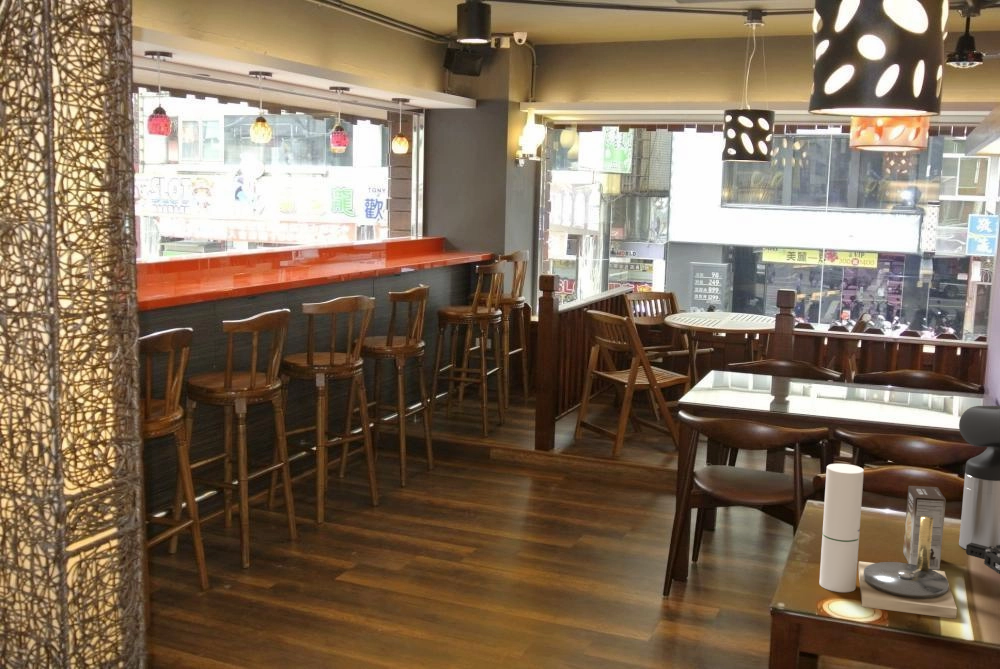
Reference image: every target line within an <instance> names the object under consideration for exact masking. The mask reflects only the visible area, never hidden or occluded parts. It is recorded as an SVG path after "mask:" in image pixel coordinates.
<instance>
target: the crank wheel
mask: <svg viewBox="0 0 1000 669" xmlns="http://www.w3.org/2000/svg"><path fill="white" fill-rule="evenodd" d="M932 528H933V518H932V517H930V516H921V519H920V532H919V545H918V557H917V565H913V564H909V563H908V562H906V563H905V562H900V561H898V562H897V561H882V562H873V563H874V564H871V565H868V566H867V567H866V568H865V569H864V575H863V577H864V580H865V581H866V582H867V583H868V584H869V585H870V586H872V587H874V588H876V589H878V590H880V591H883V592H886V593H889V594H893V595H897V596H902V597H909V598H934V597H939V596H942V595H944V594H946V593H947V591H948V583H949V580H948V578H947V579H946V578H945V577H944V576H943V575H941V574H940V573H938V572H936V571H933V570H934V569H929V566H930V553H931V541H932Z"/></svg>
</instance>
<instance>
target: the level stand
mask: <svg viewBox="0 0 1000 669" xmlns="http://www.w3.org/2000/svg"><path fill="white" fill-rule="evenodd" d="M874 563H875V562H868V561H860V560H859V561H858V566H857V571H858V572H857V573H858V579H859V580H858V581H859V589H860V599H861V600H860V601H861V607H862V608H869V609H878V610H886V611H894V612H901V613H907V614H914V615H915V614H917V615H925V616H932V617H933V616H934V617H940V618H949V619H957V612H958V608H957V605H956V603H955V599H954V596H953V593H952V590H951V587H950V584H949V582H948V591H947V593H946V594H944V595H942V596H939V597H934V598H909V597H902V596H897V595H893V594H889V593H886V592H883V591H880V590H878V589H876V588H874V587H872V586H870V585H869V584H868V583H867V582H866V581H865V580H864V577H863V575H864V569H865V568H866V567H867V566H868V565H871V564H874ZM932 570H933V571H936V572H938V573H940V574H941V575H943V576H944V577H945V578H946V579H947V580H948V578H947V575H946V571H943V570H935V569H932Z"/></svg>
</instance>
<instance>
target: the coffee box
mask: <svg viewBox="0 0 1000 669" xmlns="http://www.w3.org/2000/svg"><path fill="white" fill-rule="evenodd" d="M906 500H907V501H906V513H905V526H904V537H903V538H904V541H903V555H904V557H905V559H906V561H907V564H913V565H917V557H918V545H919V532H920V519H921V516H930V517H932V518H933V528H932V541H931V553H930V566H929V569H931V570H938V571H941V559H942V545H943V544H942V543H943V534H944V524H945V514H946V512H945V510H946V498H945V496H944V495H943V493H942V492H941V490H940V488H939V487H938V486H922V485H920V486H919V485H908V489H907V498H906Z"/></svg>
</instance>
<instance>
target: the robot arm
mask: <svg viewBox="0 0 1000 669" xmlns="http://www.w3.org/2000/svg"><path fill="white" fill-rule="evenodd" d="M958 429H959V433H960V435H961V436H962V439H963V440H965V441H966V443H968V444H969V445H970V446H971V445H972V446H974V447H979V448H983V447H984V448H986V449H985V450H984V451H982V452H981V453H980V454H978V455H976V456H974V457H971V458H969V459H968V460H966V463H965V469H964V481H963V494H962V507H961V517H960V527H959V528H960V529H959V541H958V545H959V546H960V547H961V548H962V549H965V554H966V555H968V556H971V557H974V558H978V559H983V560H984V562H983V564H984V565H985V566H987V567H988V568H989V569H991V570H993V571H994V572H996V573H997V574H998V575H1000V405H976V406H975V405H974V406H971V407H969V408H967V409H966V410H964V412H963V413H962V415H961V416H960V419H959V423H958Z"/></svg>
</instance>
